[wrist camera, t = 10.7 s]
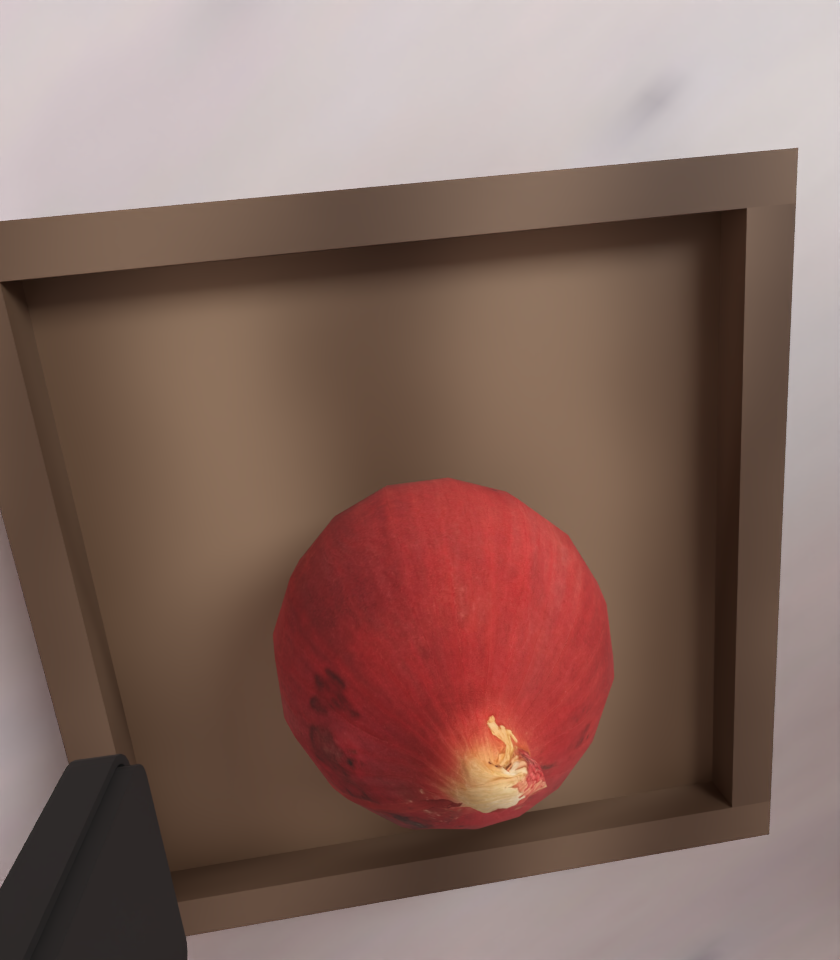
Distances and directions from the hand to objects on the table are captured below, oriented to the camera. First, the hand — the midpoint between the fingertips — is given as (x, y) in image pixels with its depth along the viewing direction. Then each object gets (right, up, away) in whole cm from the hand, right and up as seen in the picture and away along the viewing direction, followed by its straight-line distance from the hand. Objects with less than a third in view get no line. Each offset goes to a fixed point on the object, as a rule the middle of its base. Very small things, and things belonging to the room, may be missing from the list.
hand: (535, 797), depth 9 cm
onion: (-1, +2, +8) cm, 8 cm away
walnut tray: (-2, +3, +11) cm, 11 cm away
